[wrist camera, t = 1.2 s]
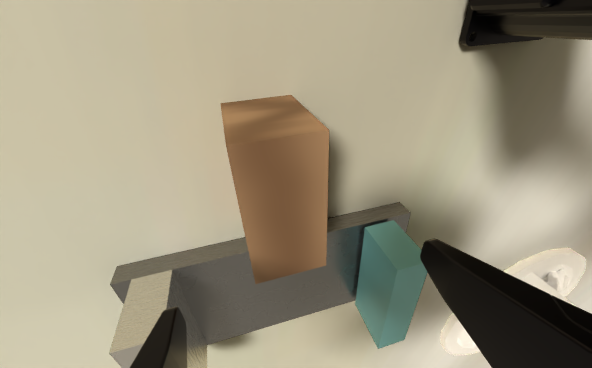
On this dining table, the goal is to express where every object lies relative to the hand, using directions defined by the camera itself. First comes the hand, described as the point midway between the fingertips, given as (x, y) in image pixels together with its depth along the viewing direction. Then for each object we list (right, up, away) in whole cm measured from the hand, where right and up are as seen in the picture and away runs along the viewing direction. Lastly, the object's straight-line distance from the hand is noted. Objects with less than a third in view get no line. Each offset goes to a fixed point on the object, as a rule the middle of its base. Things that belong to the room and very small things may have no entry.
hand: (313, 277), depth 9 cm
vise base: (-2, -5, +14) cm, 14 cm away
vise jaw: (+6, -4, +14) cm, 16 cm away
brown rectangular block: (-3, +5, +8) cm, 10 cm away
